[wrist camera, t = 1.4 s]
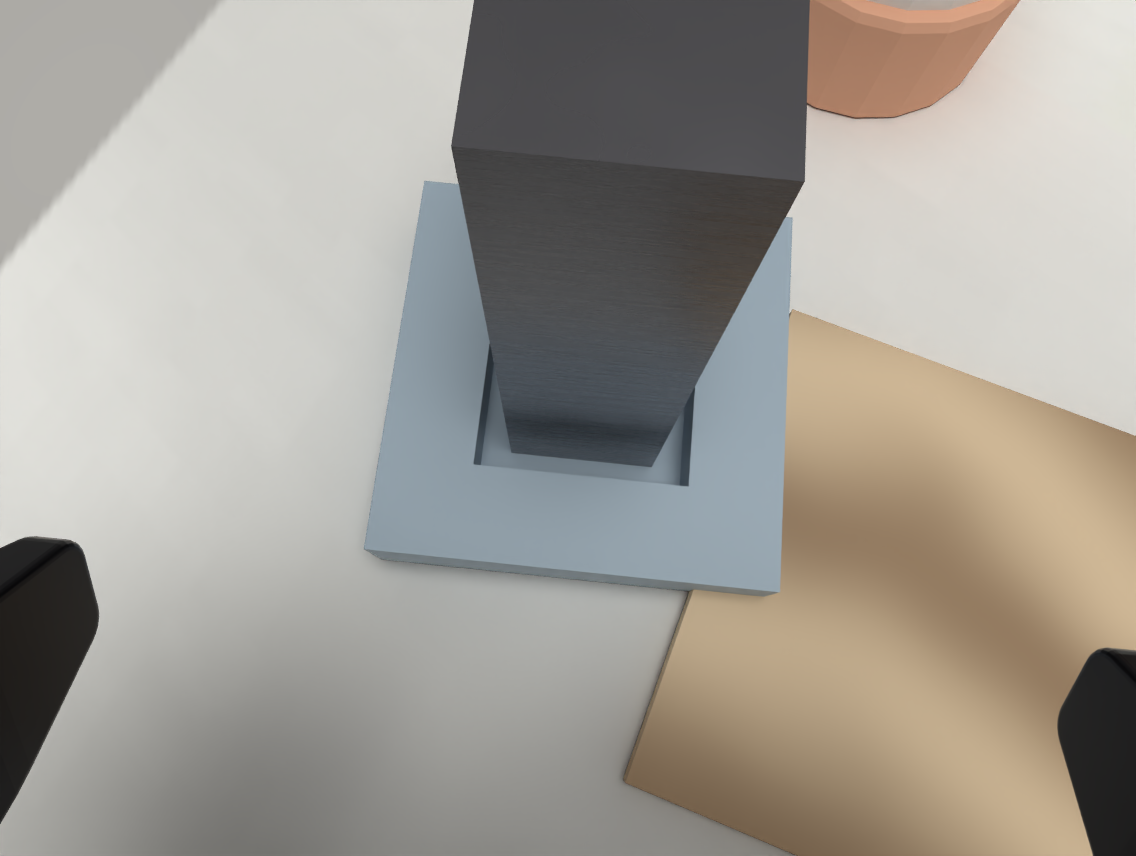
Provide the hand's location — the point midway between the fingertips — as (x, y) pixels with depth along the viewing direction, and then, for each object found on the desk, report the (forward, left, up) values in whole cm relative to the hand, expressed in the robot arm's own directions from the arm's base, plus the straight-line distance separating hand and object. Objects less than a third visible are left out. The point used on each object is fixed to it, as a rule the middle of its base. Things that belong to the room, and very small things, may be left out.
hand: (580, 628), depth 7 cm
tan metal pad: (+4, -8, -12) cm, 15 cm away
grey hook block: (+7, +2, -12) cm, 14 cm away
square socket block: (+6, +2, -12) cm, 14 cm away
